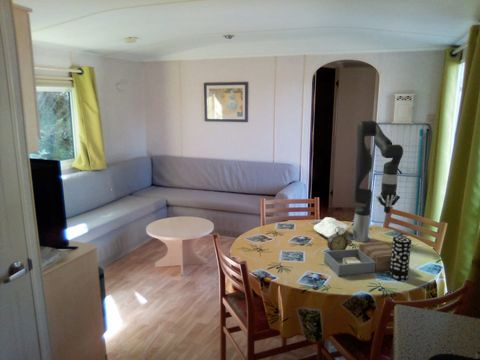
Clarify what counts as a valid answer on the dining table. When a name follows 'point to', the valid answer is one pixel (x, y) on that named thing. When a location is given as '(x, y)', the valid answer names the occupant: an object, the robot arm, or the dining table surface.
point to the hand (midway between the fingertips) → (386, 212)
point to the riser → (378, 255)
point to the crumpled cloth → (330, 227)
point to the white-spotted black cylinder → (400, 258)
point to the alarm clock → (337, 242)
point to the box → (336, 264)
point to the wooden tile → (350, 260)
